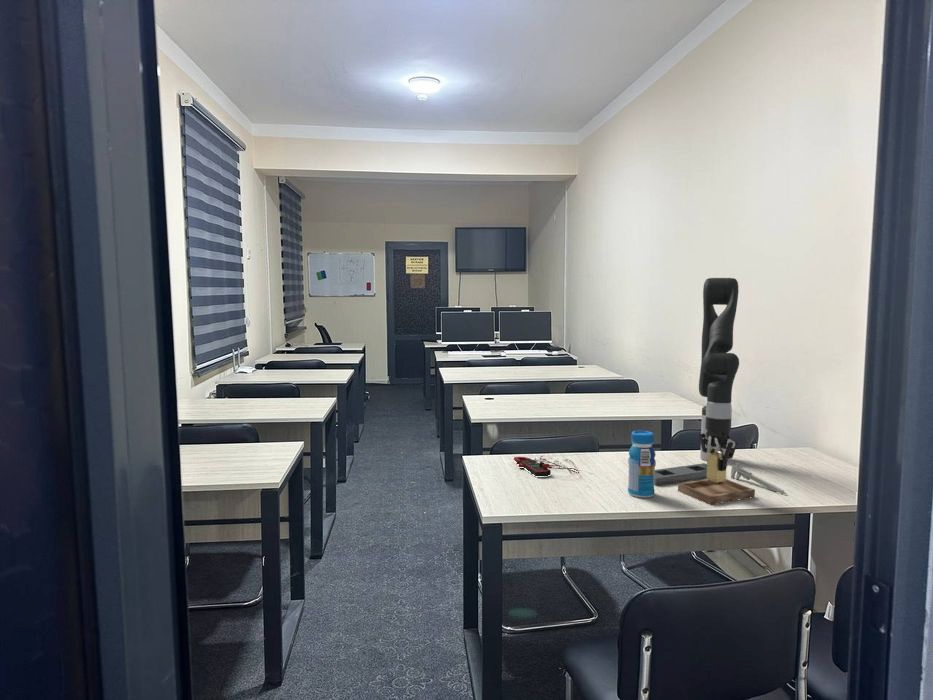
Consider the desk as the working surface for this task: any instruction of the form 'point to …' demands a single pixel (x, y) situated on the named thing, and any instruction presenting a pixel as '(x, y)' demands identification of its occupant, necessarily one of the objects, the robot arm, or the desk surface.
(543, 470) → the digital clamp meter
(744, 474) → the caliper
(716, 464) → the peg
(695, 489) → the tray
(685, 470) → the rail
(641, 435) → the beverage bottle
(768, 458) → the desk surface
